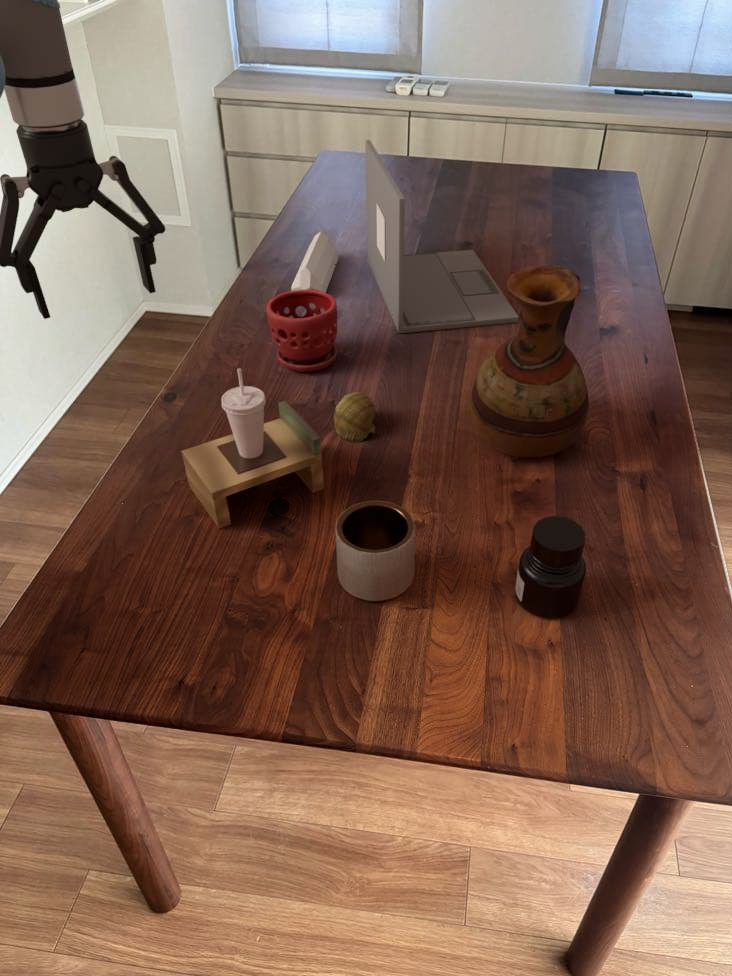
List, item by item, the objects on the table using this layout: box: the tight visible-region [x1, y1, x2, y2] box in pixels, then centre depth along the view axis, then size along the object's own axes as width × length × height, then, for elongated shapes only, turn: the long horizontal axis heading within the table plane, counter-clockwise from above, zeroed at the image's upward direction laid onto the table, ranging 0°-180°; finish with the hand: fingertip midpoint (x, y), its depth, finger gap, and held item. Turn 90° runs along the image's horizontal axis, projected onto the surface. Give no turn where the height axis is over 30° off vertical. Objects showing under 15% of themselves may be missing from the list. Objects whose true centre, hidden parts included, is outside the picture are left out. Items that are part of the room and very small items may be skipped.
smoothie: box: [220, 367, 267, 458], centre depth 117 cm, size 6×6×14 cm
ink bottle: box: [514, 515, 587, 620], centre depth 106 cm, size 10×9×12 cm
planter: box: [334, 500, 416, 602], centre depth 109 cm, size 11×11×10 cm
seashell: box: [333, 391, 376, 443], centre depth 138 cm, size 10×7×8 cm
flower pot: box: [266, 290, 338, 373], centre depth 152 cm, size 13×13×12 cm
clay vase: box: [470, 263, 590, 458], centre depth 128 cm, size 20×20×30 cm
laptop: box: [365, 139, 520, 335], centre depth 169 cm, size 35×26×27 cm
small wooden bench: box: [181, 400, 325, 530], centre depth 123 cm, size 18×12×10 cm, turn 123°
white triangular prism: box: [290, 230, 339, 293], centre depth 180 cm, size 7×7×24 cm
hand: (98, 301), depth 103 cm, fingers open, 13 cm apart
